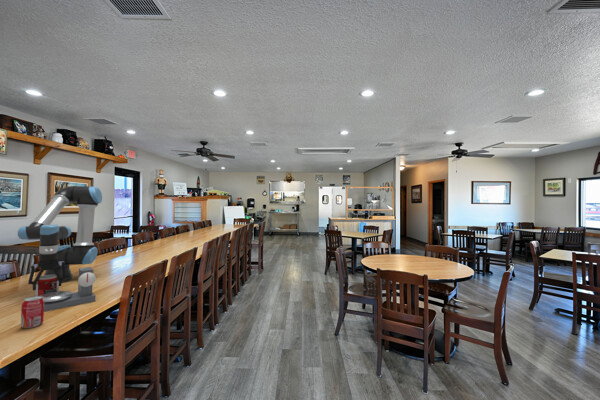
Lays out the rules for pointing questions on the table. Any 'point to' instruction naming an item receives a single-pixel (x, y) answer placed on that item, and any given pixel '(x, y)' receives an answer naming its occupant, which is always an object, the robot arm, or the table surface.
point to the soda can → (32, 312)
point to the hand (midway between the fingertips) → (47, 293)
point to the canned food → (47, 284)
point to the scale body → (78, 297)
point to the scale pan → (56, 296)
